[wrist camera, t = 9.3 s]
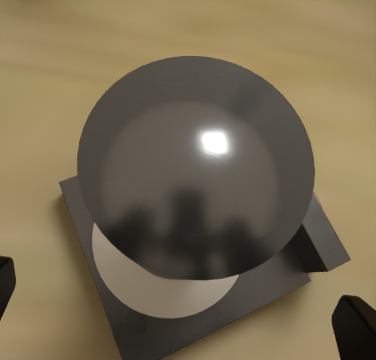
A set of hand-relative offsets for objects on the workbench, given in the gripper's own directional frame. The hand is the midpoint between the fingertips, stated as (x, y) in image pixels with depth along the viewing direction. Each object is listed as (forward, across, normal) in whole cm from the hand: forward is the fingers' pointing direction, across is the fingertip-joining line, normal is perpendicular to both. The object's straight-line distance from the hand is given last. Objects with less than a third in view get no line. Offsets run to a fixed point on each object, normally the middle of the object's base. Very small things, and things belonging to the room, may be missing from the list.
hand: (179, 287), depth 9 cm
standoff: (+8, 0, +4) cm, 9 cm away
